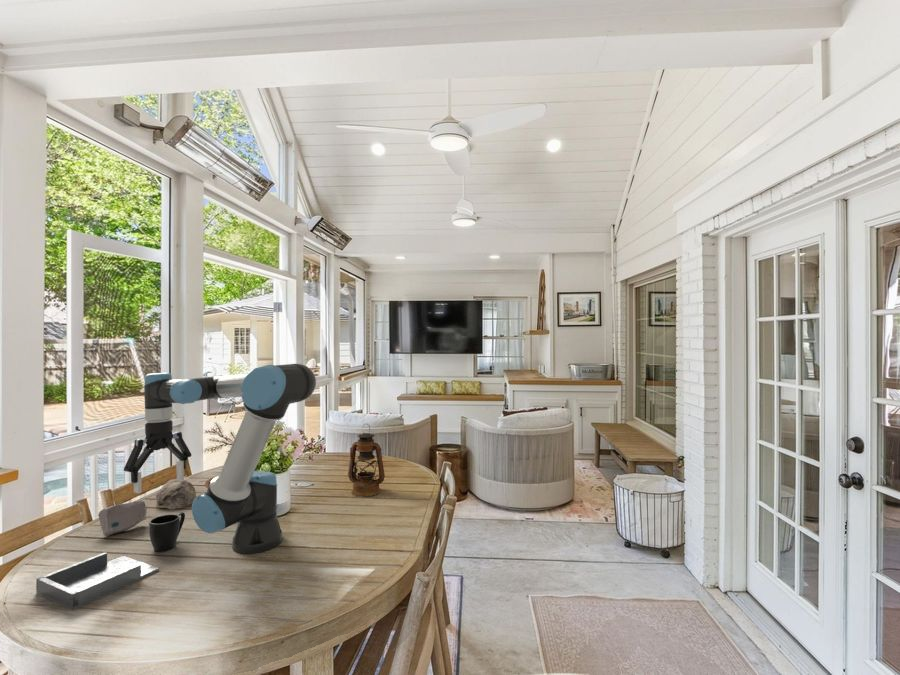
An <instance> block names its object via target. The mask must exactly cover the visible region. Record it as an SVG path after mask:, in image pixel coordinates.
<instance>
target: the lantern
mask: <svg viewBox="0 0 900 675" xmlns="http://www.w3.org/2000/svg"><path fill="white" fill-rule="evenodd" d="M364 425H367V426H368V427H369V432H367V433H365V432H362V433H360V434H358V435H357V437H358V438H359V439H358V440H357V441H356V442H353V443H352V444H351V447H349V448H350V450H349V454H350V455H349V456H350V457H349V464H348V470H347V471H348V472H347V477H348V479H349V481H350V482H352V483H353V484H352V489H351V492H350V494H351V493H352V494H353V495H352V494H351V495H352V496H354V495H355V496H354V497H358V496H364V497H365V496H369V497H372V496H371V495H374V496H376V495H375V494H377V495H379V494H380V493H381V492H382V490H381V488H380V484H382V483H383V482H384V480H385V476H386V475H385V469H384V461H383V457H382V448H381V446H380V444H378V443H377V442H375V440H374V437H375V436H376V435H375V434H373V433H370V432H371V427H370V425H369V424H368V423H364V424H363V426H362V427H364ZM374 451H375V455H376V457H375V455H374V454H373V453H374ZM357 452H359V455H358V456H357V460H356V454H357ZM375 458H376V460H375ZM355 460H356V461H355ZM372 460H373V461H372ZM368 461H371V462H368ZM358 462H362V463H366V464H367V465H366V466H364V467H363V468H362V467H361V466H359V465H358ZM373 464H375V466H374V465H373ZM370 466H371V467H372V468H373V469H374V470H373V471H367V470H365V469H367V468H368V467H370ZM377 467H378V474H376V470H377ZM358 470H360V471H359V472H358ZM377 477H378V478H377ZM380 491H381V492H380ZM379 492H380V493H379ZM378 493H379V494H378Z"/></svg>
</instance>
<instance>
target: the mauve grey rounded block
mask: <svg viewBox="0 0 900 675" xmlns="http://www.w3.org/2000/svg"><path fill="white" fill-rule="evenodd" d="M147 508H148V507H147V506H146V503H145V501H144V500H135V501H134V500H133V501H132V502H125V503H123V502H122V503H119V504H116V505H111V506H107V507H105V508H103V509H102V510H100V511H99V512H98V513H97V516H98V520H99V523H100V525H99V526H100V528H101V531H102V533H103V536H105V537H110V536H112V535H114V534H118V533H122V532H126V531H128V530H130V529H132V528H133V527H135V526H136V525H138V524H141V522H143V521H145V520H147V510H148V509H147Z"/></svg>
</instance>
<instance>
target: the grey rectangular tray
mask: <svg viewBox="0 0 900 675" xmlns="http://www.w3.org/2000/svg"><path fill="white" fill-rule="evenodd" d="M159 571H160V567H157V566H156V565H155V566H154V565H152V564H148V563H146V562H142V561H139V560H137V559H133V558H132V557H128V556H124V555H122V556H118V557H117V558H115V559H112V560H109V561H108V553H107V552H106V551H104V552H102V553H100V554H97V555H95V556H92V557H88V558H86V559H84V560H81V561H79V562H75V563H74V564H73V563H72V564H71V565H68V566H65V567H63V568H61V569H58V570H55V571H52V572H50V573H48V574H45V575H42V576H40V577H37V578H36V581H35V583H36V584H35V586H36V591H35V592H36V593H35V594H37V595H38V596H40V597H42V598H45V599H47V600H49V601H51V602H53V603H55V604H58V605H60V606H61V607H64V608H66V609H68V610H70V611H72V612H73V611H76V610H78V609H80V608H82V607H83V606H86V605H88V604H91V603H92V602H95V601H97V600H99V599H101V598H103V597H105V596H108V595H110V594H112V593H115V592H116V591H119V590H121V589H123V588H125V587H127V586H129V585H131V584H134V583H135V582H138V581H139V580H142V579H144V578H146V577H149V576H150V575H153V574H156V573H157V572H159Z"/></svg>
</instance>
